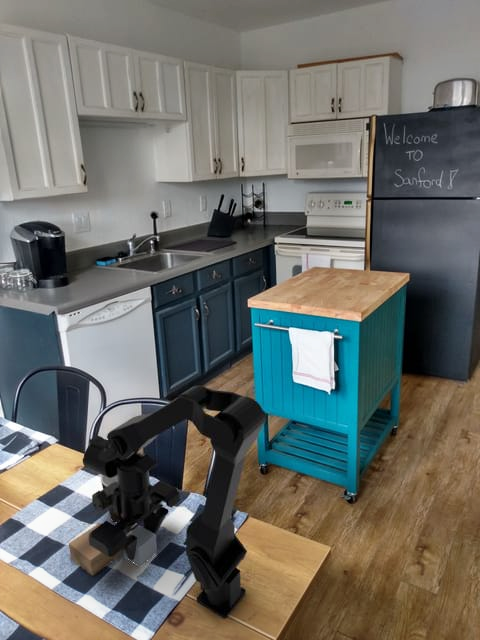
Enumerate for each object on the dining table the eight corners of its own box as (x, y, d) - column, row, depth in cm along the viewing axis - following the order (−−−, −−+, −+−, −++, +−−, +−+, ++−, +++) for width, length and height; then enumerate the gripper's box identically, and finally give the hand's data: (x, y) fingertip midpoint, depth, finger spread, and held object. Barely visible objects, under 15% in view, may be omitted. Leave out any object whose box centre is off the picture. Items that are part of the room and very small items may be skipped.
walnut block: (122, 555, 96) (120, 538, 95) (92, 577, 91) (90, 560, 90) (101, 539, 101) (99, 523, 99) (71, 559, 95) (68, 543, 94)
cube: (157, 552, 96) (155, 534, 95) (140, 567, 93) (138, 548, 92) (140, 543, 99) (139, 525, 98) (124, 557, 95) (122, 538, 94)
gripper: (139, 447, 102) (144, 508, 107) (64, 495, 88) (74, 564, 93) (179, 464, 96) (183, 528, 101) (106, 518, 82) (114, 591, 87)
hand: (140, 550), depth 96 cm, fingers closed on cube, 4 cm apart
